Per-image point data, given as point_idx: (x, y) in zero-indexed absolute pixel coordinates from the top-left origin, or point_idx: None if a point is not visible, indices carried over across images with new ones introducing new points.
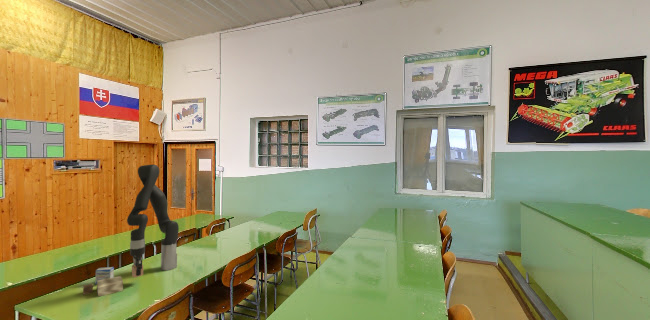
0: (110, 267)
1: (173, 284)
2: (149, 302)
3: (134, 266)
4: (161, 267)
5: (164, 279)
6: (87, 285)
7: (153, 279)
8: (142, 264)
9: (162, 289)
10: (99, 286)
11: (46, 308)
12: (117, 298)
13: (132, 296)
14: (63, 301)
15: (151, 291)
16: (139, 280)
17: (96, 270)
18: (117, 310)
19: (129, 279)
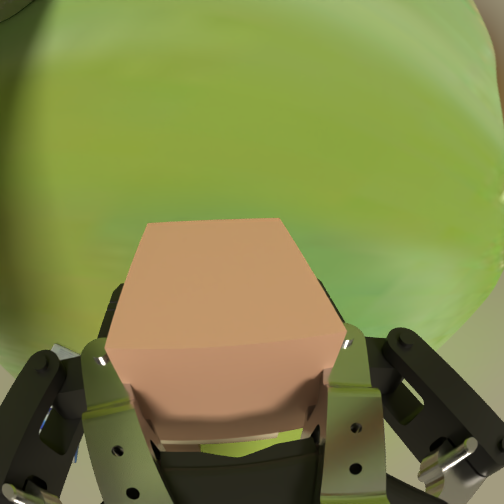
0: (39, 433)
1: (439, 29)
2: (499, 223)
3: (248, 427)
4: (5, 8)
5: (298, 2)
6: (174, 448)
7: (211, 75)
8: (241, 345)
9: (461, 116)
10: (261, 437)
11: (243, 455)
12: (366, 336)
13: (410, 277)
14: (219, 445)
15: (441, 176)
16: (139, 200)
17: (75, 461)
18: (451, 323)
19: (72, 268)
